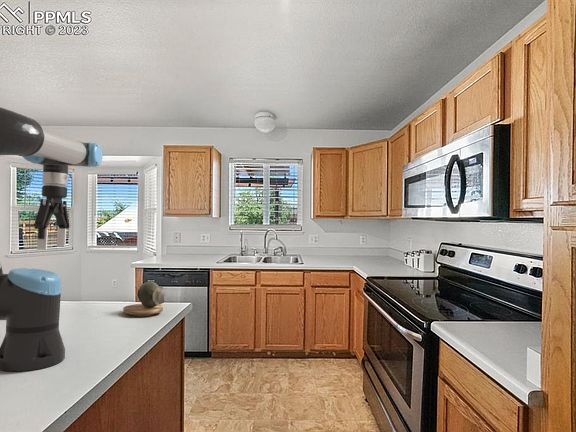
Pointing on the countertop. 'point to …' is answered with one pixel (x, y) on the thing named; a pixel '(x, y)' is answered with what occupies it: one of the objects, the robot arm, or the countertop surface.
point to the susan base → (143, 315)
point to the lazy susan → (142, 309)
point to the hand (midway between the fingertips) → (51, 248)
